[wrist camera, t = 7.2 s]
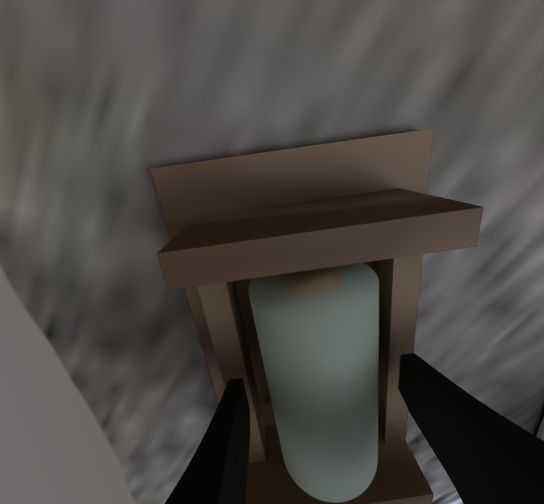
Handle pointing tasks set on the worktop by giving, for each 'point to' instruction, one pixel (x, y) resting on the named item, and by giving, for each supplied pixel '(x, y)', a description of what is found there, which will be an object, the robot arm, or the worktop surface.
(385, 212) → the roll cradle
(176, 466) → the worktop surface
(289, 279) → the paper roll
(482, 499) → the robot arm
